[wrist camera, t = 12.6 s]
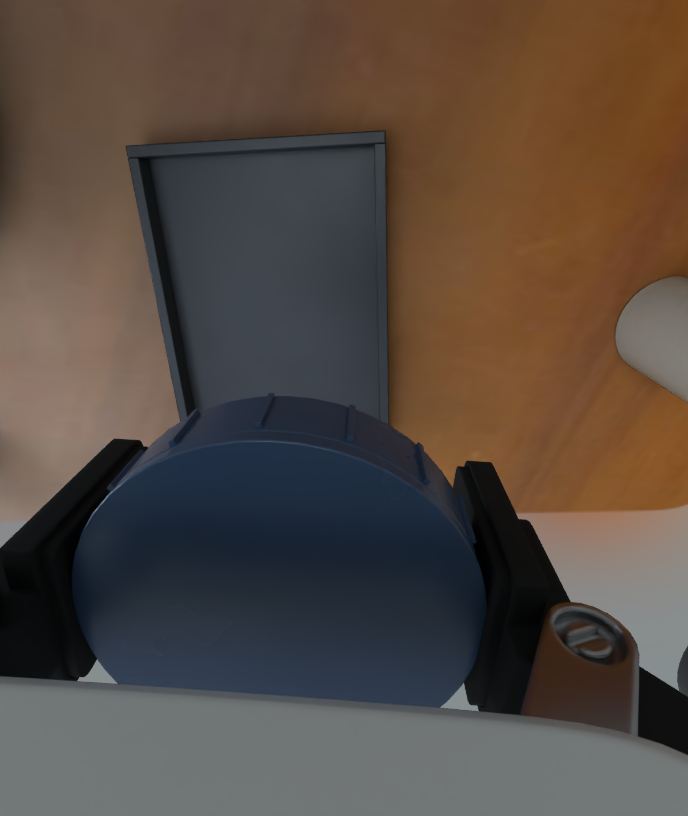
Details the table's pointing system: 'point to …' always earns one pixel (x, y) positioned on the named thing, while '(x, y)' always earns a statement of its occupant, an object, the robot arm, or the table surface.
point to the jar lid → (283, 560)
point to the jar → (658, 334)
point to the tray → (269, 266)
